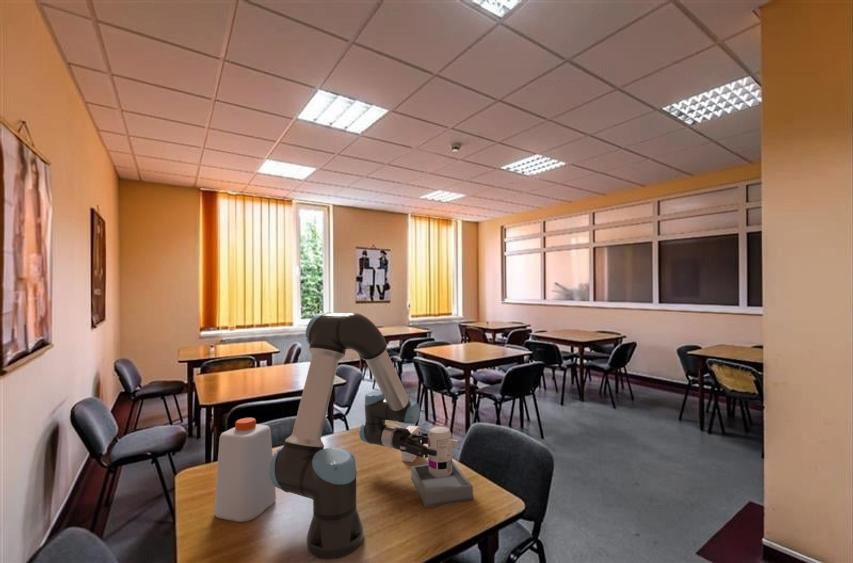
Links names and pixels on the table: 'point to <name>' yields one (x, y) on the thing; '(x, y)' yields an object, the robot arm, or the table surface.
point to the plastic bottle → (244, 472)
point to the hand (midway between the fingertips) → (452, 449)
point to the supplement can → (442, 440)
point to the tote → (441, 486)
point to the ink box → (408, 456)
